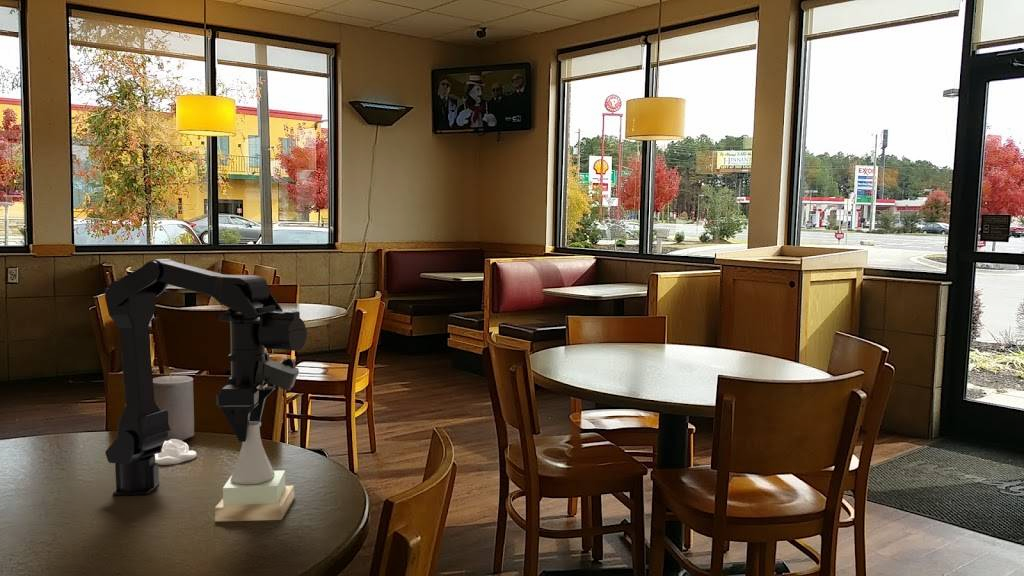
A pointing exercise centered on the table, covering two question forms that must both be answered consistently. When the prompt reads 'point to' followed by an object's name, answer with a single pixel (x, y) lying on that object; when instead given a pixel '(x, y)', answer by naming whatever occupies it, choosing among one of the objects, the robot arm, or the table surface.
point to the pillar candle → (176, 404)
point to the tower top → (255, 491)
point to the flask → (252, 459)
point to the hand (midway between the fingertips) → (249, 434)
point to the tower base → (256, 509)
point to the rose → (174, 453)
